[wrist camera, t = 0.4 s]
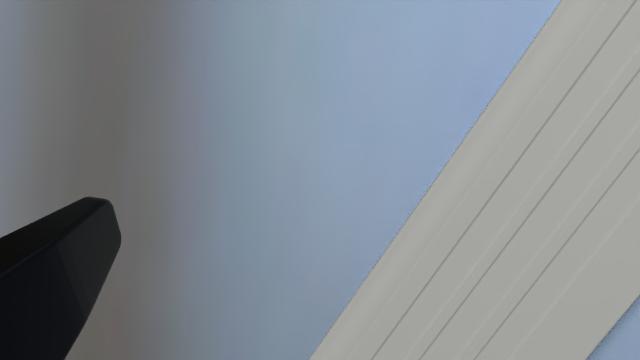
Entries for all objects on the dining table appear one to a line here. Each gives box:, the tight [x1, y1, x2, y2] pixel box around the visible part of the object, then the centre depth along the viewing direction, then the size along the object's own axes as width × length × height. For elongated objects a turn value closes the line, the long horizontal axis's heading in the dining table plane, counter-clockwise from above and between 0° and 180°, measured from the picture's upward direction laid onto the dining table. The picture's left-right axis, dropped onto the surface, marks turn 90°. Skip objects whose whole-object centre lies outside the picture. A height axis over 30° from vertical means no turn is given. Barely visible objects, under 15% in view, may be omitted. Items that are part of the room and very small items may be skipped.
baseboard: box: [308, 0, 640, 360], centre depth 22 cm, size 30×3×10 cm
